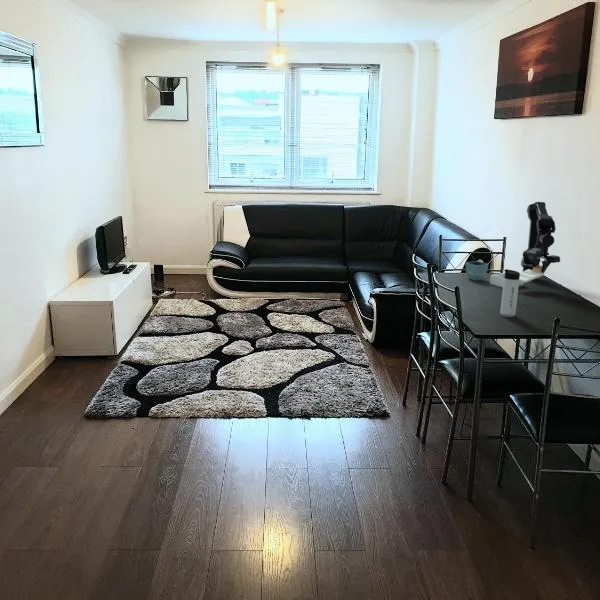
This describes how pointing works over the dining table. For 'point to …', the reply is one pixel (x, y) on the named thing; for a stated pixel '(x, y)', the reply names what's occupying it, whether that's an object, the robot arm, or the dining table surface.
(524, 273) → the lid
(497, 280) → the white open box
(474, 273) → the flower pot
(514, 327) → the dining table surface
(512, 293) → the travel mug
